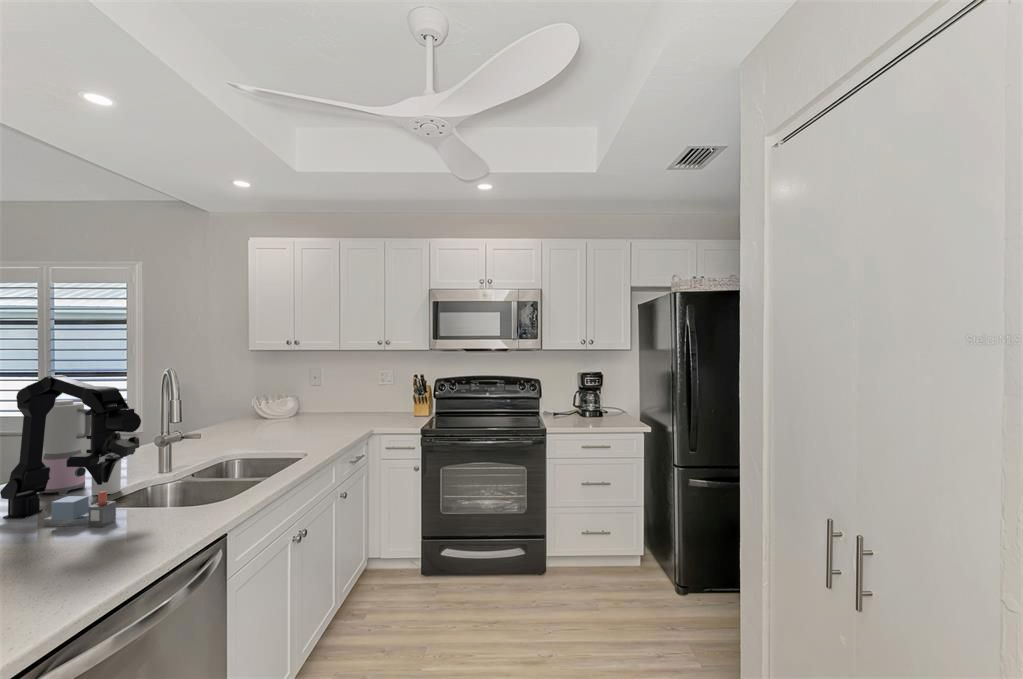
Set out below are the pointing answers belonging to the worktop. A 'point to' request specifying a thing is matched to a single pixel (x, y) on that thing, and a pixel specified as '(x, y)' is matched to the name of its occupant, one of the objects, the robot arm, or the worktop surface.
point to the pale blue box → (70, 507)
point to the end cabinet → (101, 514)
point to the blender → (65, 445)
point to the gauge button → (102, 498)
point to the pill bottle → (109, 482)
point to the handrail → (67, 522)
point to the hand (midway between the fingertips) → (102, 483)
